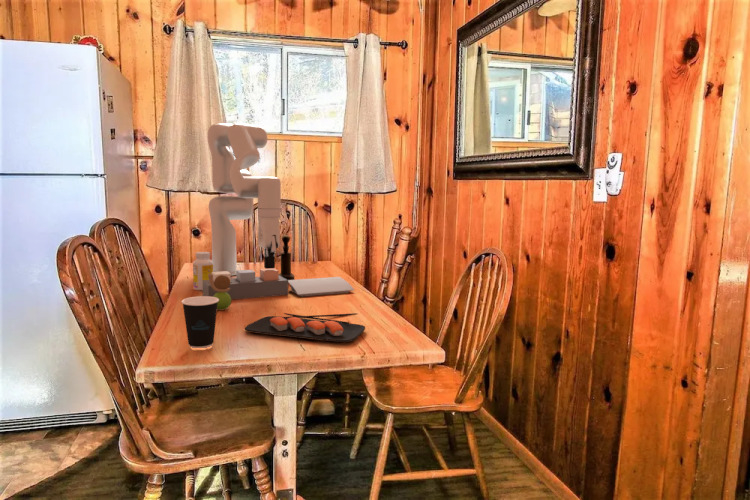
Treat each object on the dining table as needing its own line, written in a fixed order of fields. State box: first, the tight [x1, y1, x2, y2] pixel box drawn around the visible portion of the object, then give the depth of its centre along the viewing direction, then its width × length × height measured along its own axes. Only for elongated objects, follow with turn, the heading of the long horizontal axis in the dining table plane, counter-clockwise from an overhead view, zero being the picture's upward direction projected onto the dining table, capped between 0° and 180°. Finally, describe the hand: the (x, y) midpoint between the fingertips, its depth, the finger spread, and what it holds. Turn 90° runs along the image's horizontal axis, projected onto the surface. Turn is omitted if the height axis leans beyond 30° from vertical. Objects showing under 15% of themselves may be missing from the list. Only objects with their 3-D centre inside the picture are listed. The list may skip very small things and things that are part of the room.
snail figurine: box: [208, 270, 232, 311], centre depth 147 cm, size 5×6×12 cm
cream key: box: [212, 271, 232, 283], centre depth 164 cm, size 5×5×4 cm
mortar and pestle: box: [279, 234, 295, 280], centre depth 193 cm, size 7×6×18 cm
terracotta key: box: [259, 268, 280, 281], centre depth 172 cm, size 5×5×4 cm
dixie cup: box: [181, 295, 219, 348], centre depth 114 cm, size 8×8×11 cm
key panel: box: [202, 276, 289, 301], centre depth 168 cm, size 10×26×5 cm, turn 119°
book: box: [288, 276, 355, 297], centre depth 178 cm, size 15×23×4 cm, turn 117°
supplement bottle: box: [192, 251, 213, 291], centre depth 176 cm, size 7×7×13 cm
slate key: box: [235, 269, 256, 282], centre depth 168 cm, size 5×5×4 cm
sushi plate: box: [244, 312, 366, 343], centre depth 135 cm, size 29×30×4 cm
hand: (269, 267), depth 171 cm, fingers closed
